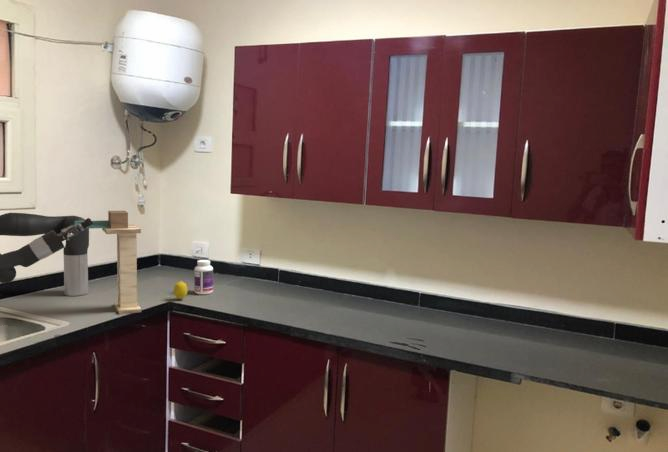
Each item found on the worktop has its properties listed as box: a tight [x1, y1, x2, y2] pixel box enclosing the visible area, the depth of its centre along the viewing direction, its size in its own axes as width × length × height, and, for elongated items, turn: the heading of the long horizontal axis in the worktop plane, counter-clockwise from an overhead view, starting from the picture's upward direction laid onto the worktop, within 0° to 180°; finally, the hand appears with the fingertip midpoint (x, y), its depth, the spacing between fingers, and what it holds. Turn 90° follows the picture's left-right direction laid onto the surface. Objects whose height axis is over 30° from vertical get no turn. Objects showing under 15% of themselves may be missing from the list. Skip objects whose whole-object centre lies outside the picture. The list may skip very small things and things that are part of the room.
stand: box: [101, 224, 142, 315], centre depth 214 cm, size 15×12×32 cm
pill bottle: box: [193, 259, 214, 295], centre depth 244 cm, size 8×8×14 cm
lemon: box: [173, 280, 188, 301], centre depth 232 cm, size 6×6×8 cm
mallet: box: [75, 210, 129, 230], centre depth 208 cm, size 8×18×6 cm, turn 119°
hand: (91, 220), depth 206 cm, fingers closed on mallet, 2 cm apart
